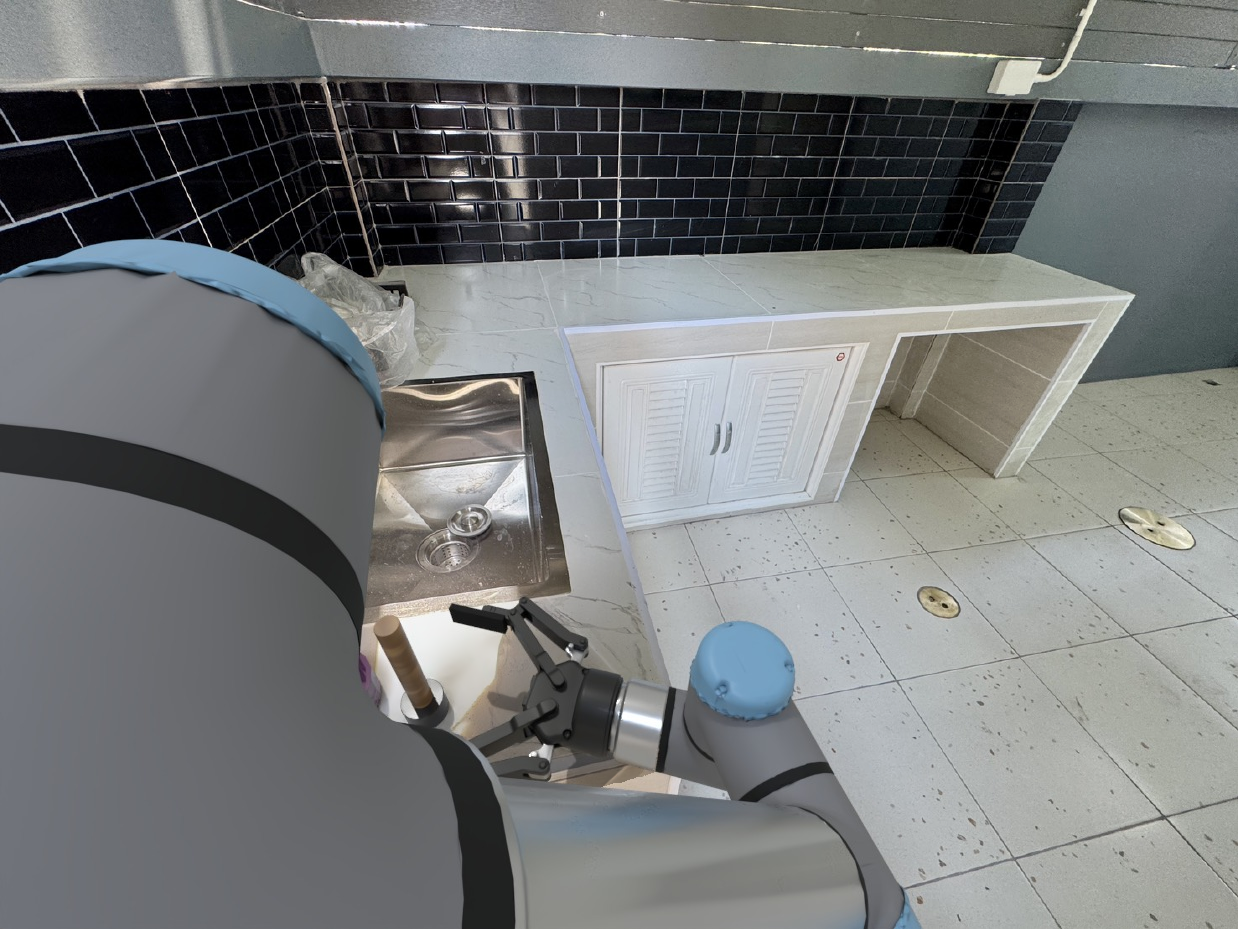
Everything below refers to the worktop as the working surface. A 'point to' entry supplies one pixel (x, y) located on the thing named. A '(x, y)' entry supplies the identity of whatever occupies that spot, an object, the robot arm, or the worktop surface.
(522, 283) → the worktop surface
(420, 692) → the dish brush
